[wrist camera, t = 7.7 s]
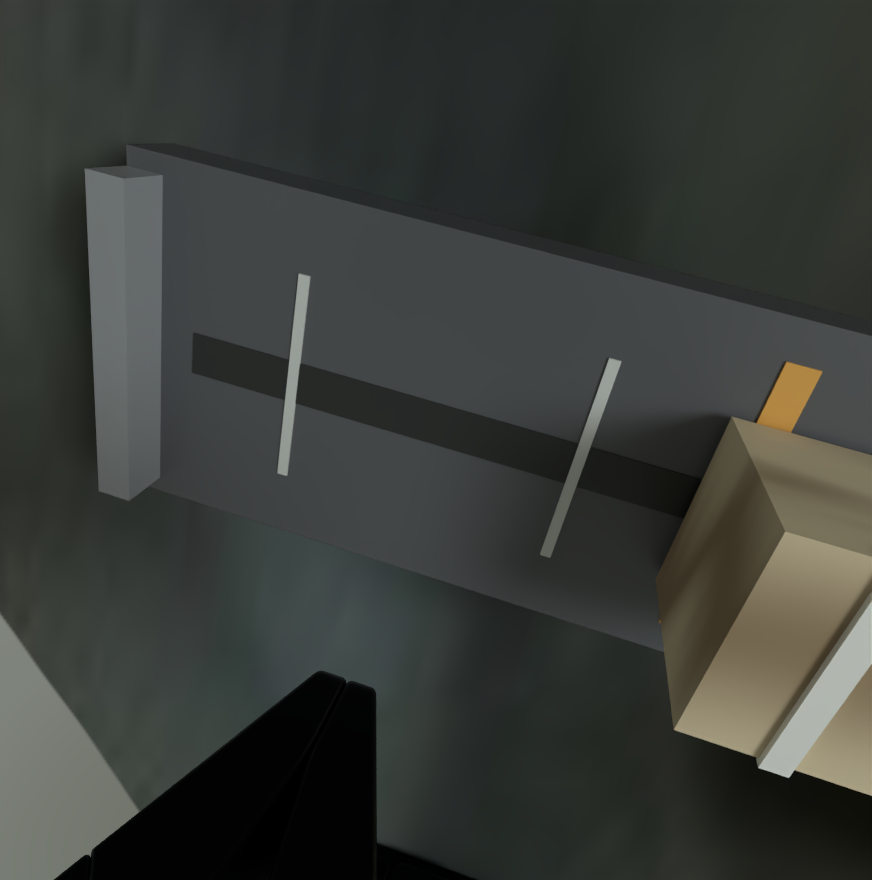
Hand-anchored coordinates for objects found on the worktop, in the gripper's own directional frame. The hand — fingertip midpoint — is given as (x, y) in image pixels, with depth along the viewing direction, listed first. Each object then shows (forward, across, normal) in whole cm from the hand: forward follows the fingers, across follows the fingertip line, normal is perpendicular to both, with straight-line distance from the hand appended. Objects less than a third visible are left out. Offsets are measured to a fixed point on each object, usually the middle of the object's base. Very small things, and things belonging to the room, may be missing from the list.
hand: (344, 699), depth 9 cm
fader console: (+11, -3, 0) cm, 12 cm away
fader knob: (+9, -8, 0) cm, 12 cm away
